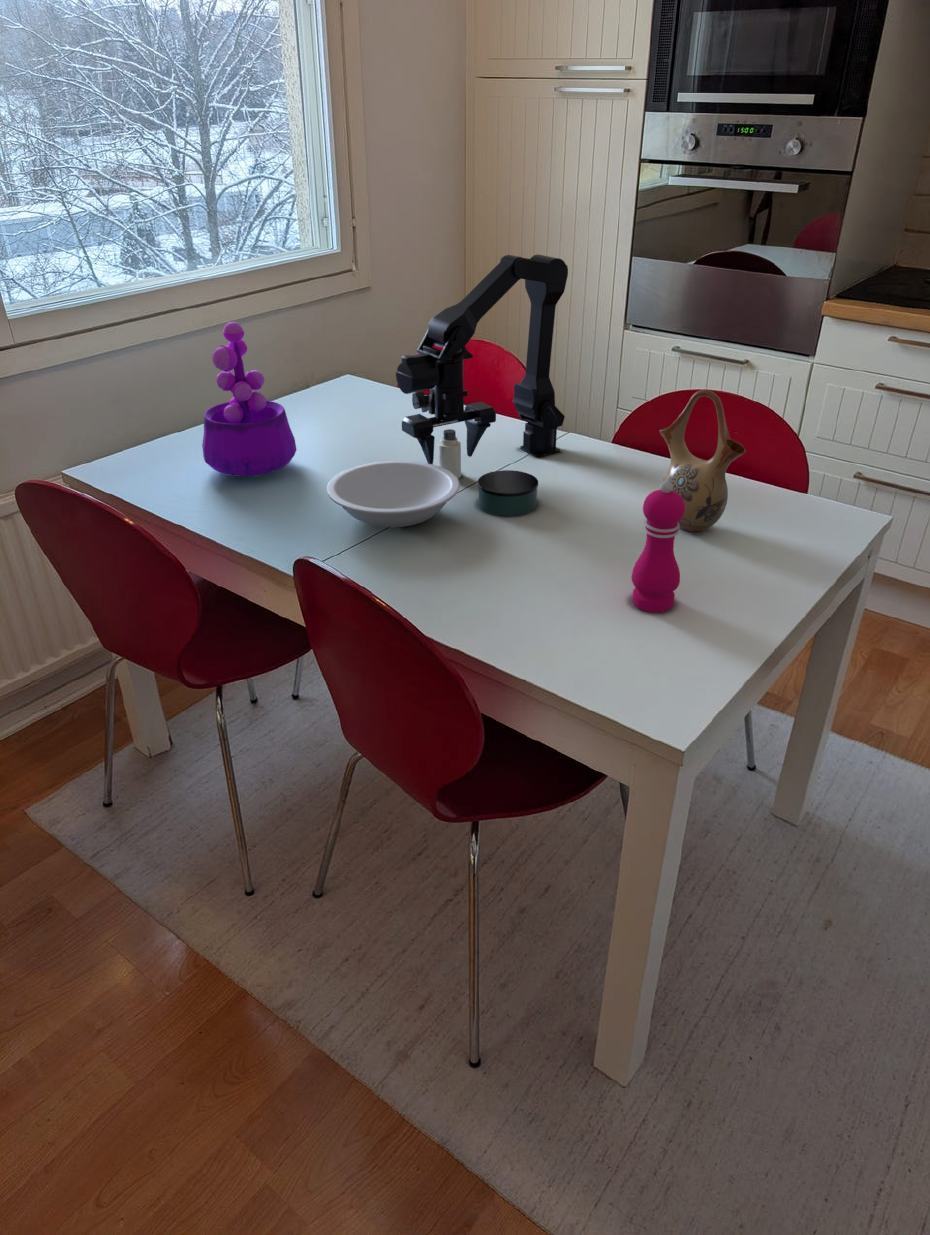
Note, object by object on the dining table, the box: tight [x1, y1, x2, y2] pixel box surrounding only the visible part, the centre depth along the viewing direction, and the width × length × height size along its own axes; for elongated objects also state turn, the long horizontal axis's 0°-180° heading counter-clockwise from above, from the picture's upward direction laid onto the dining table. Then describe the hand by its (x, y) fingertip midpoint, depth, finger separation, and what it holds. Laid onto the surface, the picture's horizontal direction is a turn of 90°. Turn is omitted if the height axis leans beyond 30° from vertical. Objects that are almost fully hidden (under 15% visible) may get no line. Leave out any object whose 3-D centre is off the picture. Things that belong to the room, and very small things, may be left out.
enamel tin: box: [477, 469, 539, 517], centre depth 168 cm, size 11×11×5 cm
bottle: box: [438, 429, 462, 479], centre depth 179 cm, size 4×4×10 cm
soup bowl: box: [326, 460, 461, 528], centre depth 163 cm, size 24×24×7 cm
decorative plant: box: [201, 321, 298, 477], centre depth 178 cm, size 19×18×30 cm
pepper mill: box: [630, 481, 685, 613], centre depth 132 cm, size 7×7×20 cm
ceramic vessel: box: [658, 389, 747, 533], centre depth 154 cm, size 16×9×25 cm, turn 45°
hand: (450, 460), depth 180 cm, fingers open, 9 cm apart
